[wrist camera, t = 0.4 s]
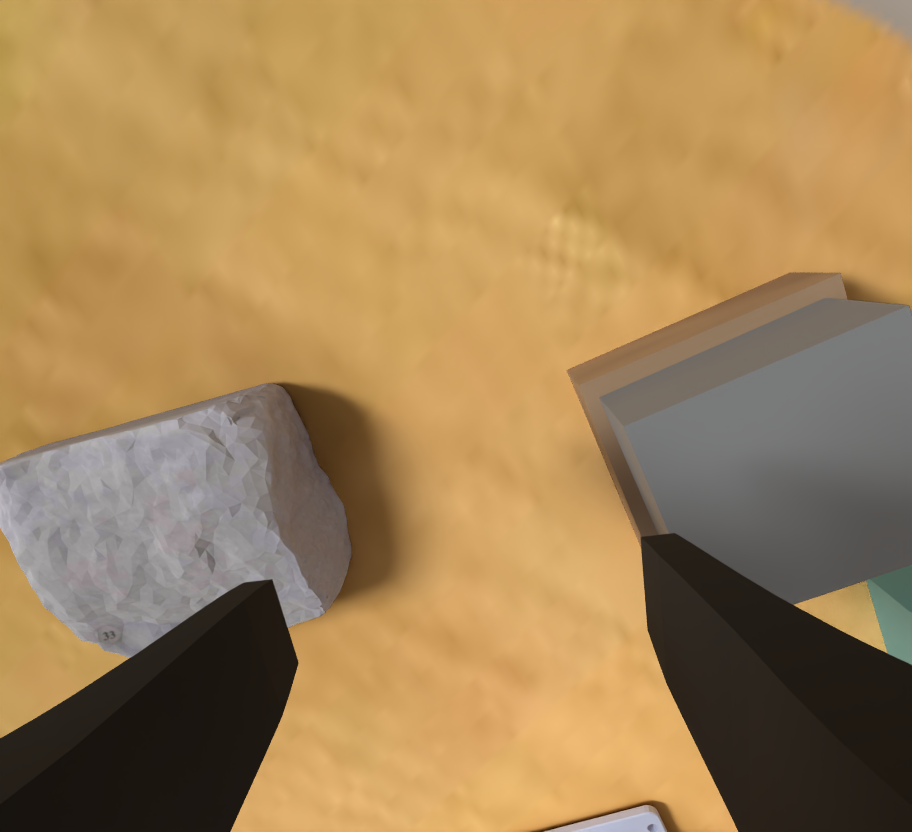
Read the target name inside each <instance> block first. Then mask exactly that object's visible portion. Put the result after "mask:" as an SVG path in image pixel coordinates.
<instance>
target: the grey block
mask: <svg viewBox="0 0 912 832" xmlns="http://www.w3.org/2000/svg"><path fill="white" fill-rule="evenodd" d="M599 399H600V401H601V403H602V406H603V408H604V410H605V413H606V415H607V417H608V420H609V422H610V424H611V427H612V429H613V431H614V433H615V436H616V438H617V440H618V443H619V445H620V447H621V450H622V452H623V454H624V457H625V459H626V461H627V464H628V466H629V468H630V471H631V473H632V475H633V478H634V480H635V482H636V484H637V487H638V489H639V491H640V494H641V496H642V498H643V501H644V503H645V505H646V508H647V510H648V512H649V515H650V517H651V519H652V522H653V524H654V526H655V529H656V531H657V533H658V535H661V534H670V533H676V534H677V535H679V536H681V537H683V538H684V539H686V540H687V541H689V542H691V543H692V544H694V545H695V546H697V547H699V548H700V549H702V550H703V551H705V552H706V553H708V554H710V555H711V556H713V557H714V558H716V559H717V560H719V561H721V562H722V563H724V564H725V565H727V566H728V567H730V568H732V569H733V570H735V571H736V572H738V573H740V574H741V575H743V576H745V577H746V578H748V579H750V580H751V581H753V582H754V583H756V584H758V585H759V586H761V587H763V588H764V589H766V590H768V591H770V592H771V593H773V594H775V595H776V596H778V597H780V598H782V599H783V600H785V601H787V602H789V603H790V604H792V605H794V604H797V603H800V602H803V601H806V600H809V599H812V598H815V597H818V596H821V595H824V594H827V593H830V592H833V591H836V590H839V589H842V588H845V587H848V586H851V585H854V584H857V583H860V582H862V581H865V580H868V579H871V578H874V577H877V576H880V575H883V574H886V573H889V572H892V571H895V570H898V569H901V568H904V567H907V566H910V565H912V314H911V310H910V307H909V305H901V304H890V303H878V302H867V301H856V300H844V299H833V298H824V299H822V300H819V301H817V302H815V303H813V304H810V305H808V306H806V307H803V308H801V309H799V310H797V311H794V312H792V313H790V314H788V315H785V316H783V317H781V318H779V319H776V320H774V321H772V322H769V323H767V324H765V325H763V326H760V327H758V328H756V329H754V330H751V331H749V332H747V333H744V334H742V335H740V336H738V337H735V338H733V339H731V340H729V341H726V342H724V343H722V344H719V345H717V346H715V347H713V348H710V349H708V350H706V351H704V352H701V353H699V354H697V355H694V356H692V357H690V358H688V359H685V360H683V361H681V362H679V363H676V364H674V365H672V366H669V367H667V368H665V369H663V370H660V371H658V372H656V373H654V374H651V375H649V376H647V377H644V378H642V379H640V380H638V381H635V382H633V383H631V384H629V385H626V386H624V387H622V388H619V389H617V390H615V391H613V392H610V393H608V394H606V395H604V396H601V397H599Z"/></svg>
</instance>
